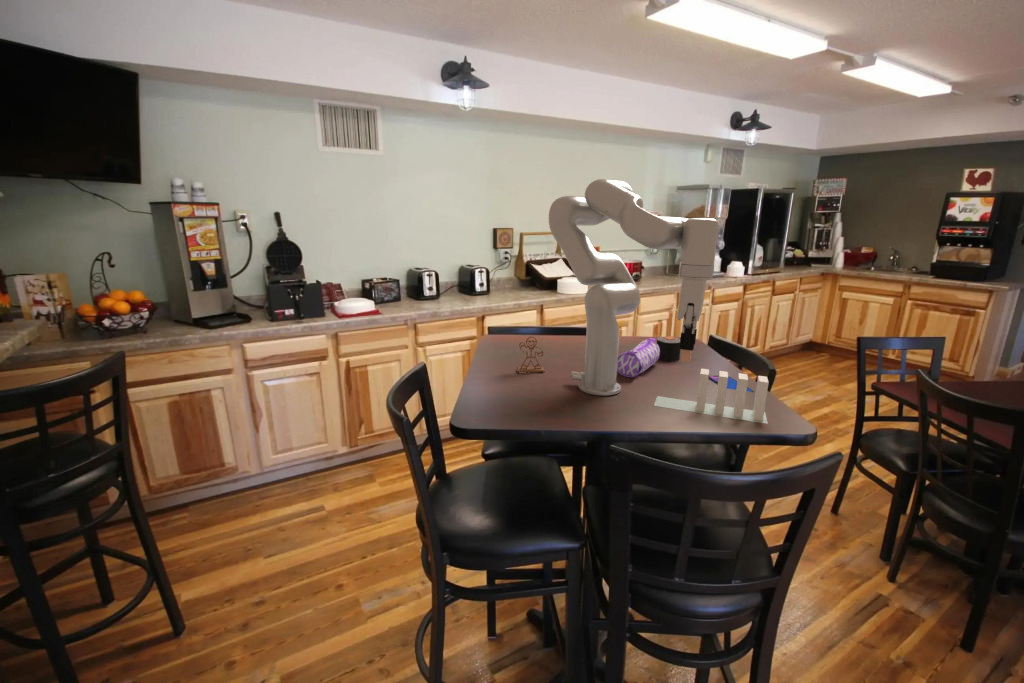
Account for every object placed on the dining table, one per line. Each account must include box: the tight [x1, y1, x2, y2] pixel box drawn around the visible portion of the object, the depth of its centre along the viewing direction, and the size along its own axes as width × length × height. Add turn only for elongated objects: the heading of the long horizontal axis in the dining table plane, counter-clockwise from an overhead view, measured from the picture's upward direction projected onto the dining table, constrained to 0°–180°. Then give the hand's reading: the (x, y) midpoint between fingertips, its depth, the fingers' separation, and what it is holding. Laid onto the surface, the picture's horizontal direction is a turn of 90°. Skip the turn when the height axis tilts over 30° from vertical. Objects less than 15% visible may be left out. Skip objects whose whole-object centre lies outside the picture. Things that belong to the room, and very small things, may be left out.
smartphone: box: [708, 375, 754, 393], centre depth 145 cm, size 7×1×15 cm
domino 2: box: [696, 368, 710, 411], centre depth 122 cm, size 2×5×10 cm, turn 156°
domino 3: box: [714, 370, 729, 414], centre depth 120 cm, size 2×5×10 cm, turn 156°
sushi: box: [656, 335, 682, 362], centre depth 173 cm, size 8×8×8 cm
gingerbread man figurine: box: [516, 336, 546, 373], centre depth 154 cm, size 9×4×12 cm, turn 95°
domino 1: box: [680, 319, 694, 364], centre depth 113 cm, size 2×5×10 cm, turn 156°
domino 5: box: [752, 375, 770, 421], centre depth 117 cm, size 2×5×10 cm, turn 156°
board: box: [653, 395, 769, 425], centre depth 122 cm, size 27×8×1 cm, turn 66°
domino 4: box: [733, 372, 749, 418], centre depth 118 cm, size 2×5×10 cm, turn 156°
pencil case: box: [617, 337, 660, 379], centre depth 158 cm, size 22×9×10 cm, turn 147°
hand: (687, 346), depth 114 cm, fingers closed on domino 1, 4 cm apart
